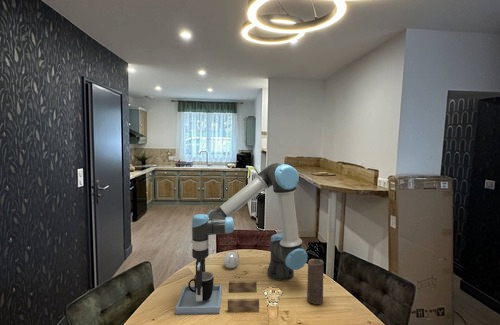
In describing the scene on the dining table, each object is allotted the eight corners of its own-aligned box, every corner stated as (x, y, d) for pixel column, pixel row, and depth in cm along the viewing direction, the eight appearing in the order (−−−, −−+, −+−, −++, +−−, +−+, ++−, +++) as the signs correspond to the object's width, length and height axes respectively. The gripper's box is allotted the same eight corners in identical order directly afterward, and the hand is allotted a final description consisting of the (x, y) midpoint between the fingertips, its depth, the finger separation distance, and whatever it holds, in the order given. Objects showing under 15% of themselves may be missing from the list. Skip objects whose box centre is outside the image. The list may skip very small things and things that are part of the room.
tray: (222, 290, 138) (222, 285, 138) (219, 313, 119) (219, 307, 119) (184, 291, 137) (184, 285, 137) (175, 314, 118) (175, 308, 118)
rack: (256, 290, 139) (256, 281, 138) (259, 311, 121) (259, 300, 121) (228, 291, 138) (228, 281, 138) (227, 312, 121) (227, 301, 120)
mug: (215, 292, 132) (215, 272, 131) (210, 303, 123) (210, 281, 123) (191, 290, 134) (191, 270, 133) (185, 301, 125) (185, 279, 124)
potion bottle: (226, 273, 160) (232, 265, 174) (240, 264, 159) (244, 257, 174) (218, 260, 161) (224, 253, 176) (231, 251, 160) (236, 245, 175)
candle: (319, 308, 124) (320, 265, 123) (304, 303, 128) (305, 261, 127) (324, 300, 130) (325, 259, 129) (310, 295, 134) (310, 256, 133)
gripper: (195, 240, 137) (196, 283, 139) (188, 257, 116) (188, 308, 117) (210, 239, 138) (211, 283, 139) (205, 257, 116) (206, 308, 117)
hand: (200, 294), depth 128 cm, fingers closed on mug, 9 cm apart
